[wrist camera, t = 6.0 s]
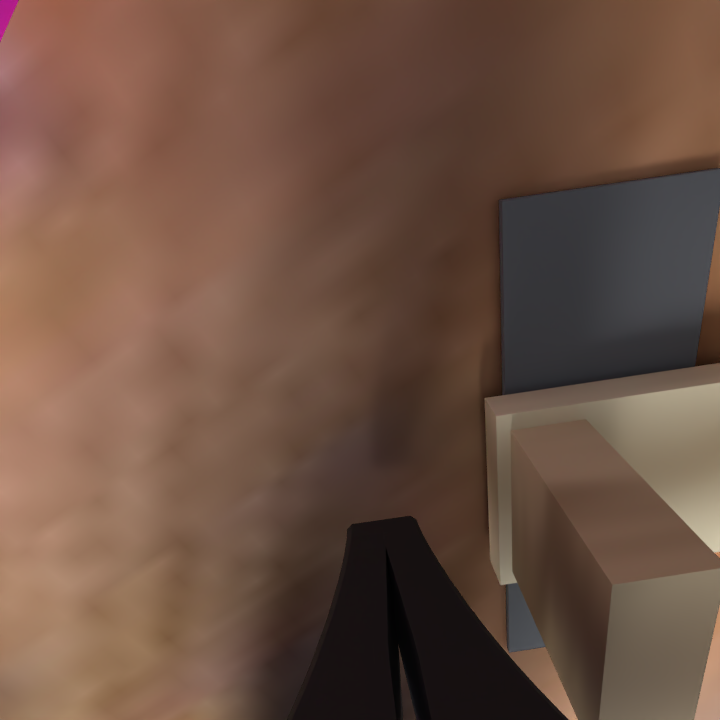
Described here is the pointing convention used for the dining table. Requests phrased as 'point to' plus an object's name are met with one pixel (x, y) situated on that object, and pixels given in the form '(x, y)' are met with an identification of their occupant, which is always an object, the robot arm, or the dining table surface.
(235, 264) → the dining table surface
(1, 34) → the toy block
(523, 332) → the dark grey panel
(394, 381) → the dining table surface
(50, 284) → the dining table surface
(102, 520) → the dining table surface
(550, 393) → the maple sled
